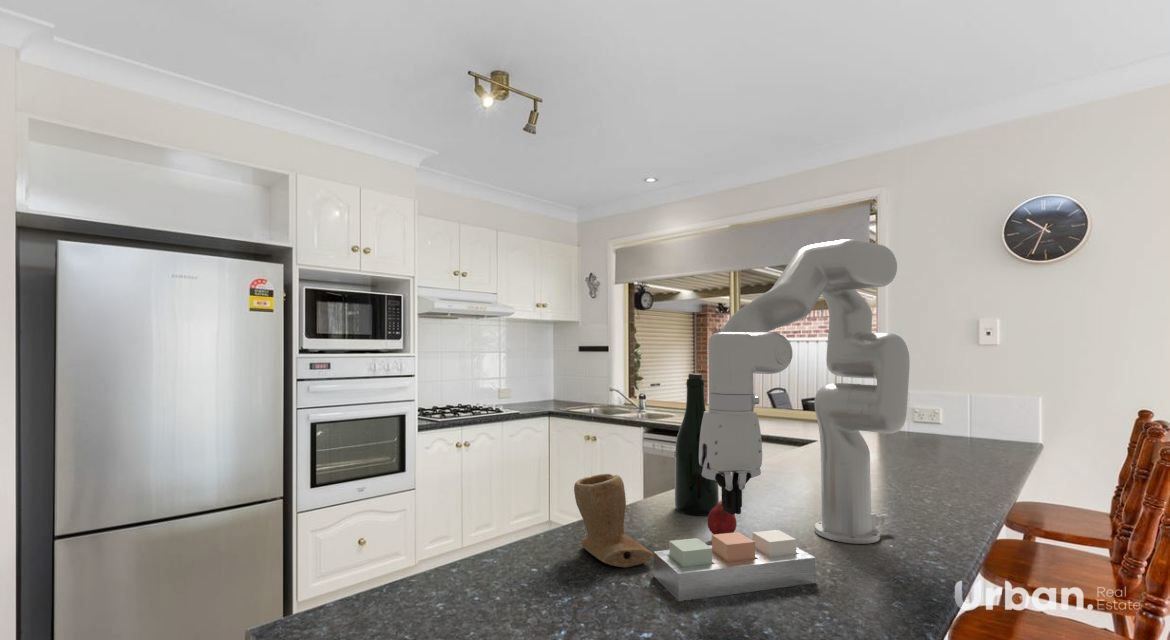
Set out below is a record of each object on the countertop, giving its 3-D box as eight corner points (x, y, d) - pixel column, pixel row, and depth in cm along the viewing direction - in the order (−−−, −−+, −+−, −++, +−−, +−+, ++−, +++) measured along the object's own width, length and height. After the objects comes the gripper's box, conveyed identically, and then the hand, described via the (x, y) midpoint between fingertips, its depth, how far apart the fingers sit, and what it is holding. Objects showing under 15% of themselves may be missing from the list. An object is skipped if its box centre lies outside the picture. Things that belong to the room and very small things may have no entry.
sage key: (697, 555, 97) (697, 538, 97) (712, 567, 92) (711, 548, 92) (669, 558, 96) (669, 540, 96) (682, 570, 91) (682, 551, 91)
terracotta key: (738, 549, 99) (738, 532, 99) (755, 560, 94) (755, 541, 94) (711, 552, 98) (711, 534, 98) (727, 563, 93) (727, 544, 93)
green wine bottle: (686, 501, 144) (685, 372, 146) (725, 508, 138) (723, 373, 140) (667, 511, 136) (666, 373, 137) (708, 519, 130) (706, 374, 131)
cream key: (778, 546, 101) (777, 529, 102) (796, 557, 96) (796, 539, 97) (752, 549, 100) (752, 532, 100) (770, 560, 95) (769, 542, 95)
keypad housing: (779, 561, 104) (779, 538, 104) (815, 582, 94) (815, 557, 95) (653, 576, 97) (653, 551, 97) (678, 601, 88) (678, 573, 88)
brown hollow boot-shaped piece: (566, 547, 112) (566, 470, 112) (621, 540, 116) (621, 466, 116) (593, 576, 97) (593, 488, 98) (655, 567, 102) (654, 482, 102)
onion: (737, 546, 112) (737, 505, 112) (707, 544, 113) (707, 503, 113) (735, 536, 118) (735, 497, 118) (707, 534, 119) (707, 496, 119)
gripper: (756, 401, 103) (757, 503, 102) (681, 402, 99) (682, 509, 98) (781, 405, 96) (783, 515, 95) (701, 406, 92) (702, 522, 91)
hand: (731, 511), depth 96 cm, fingers closed
